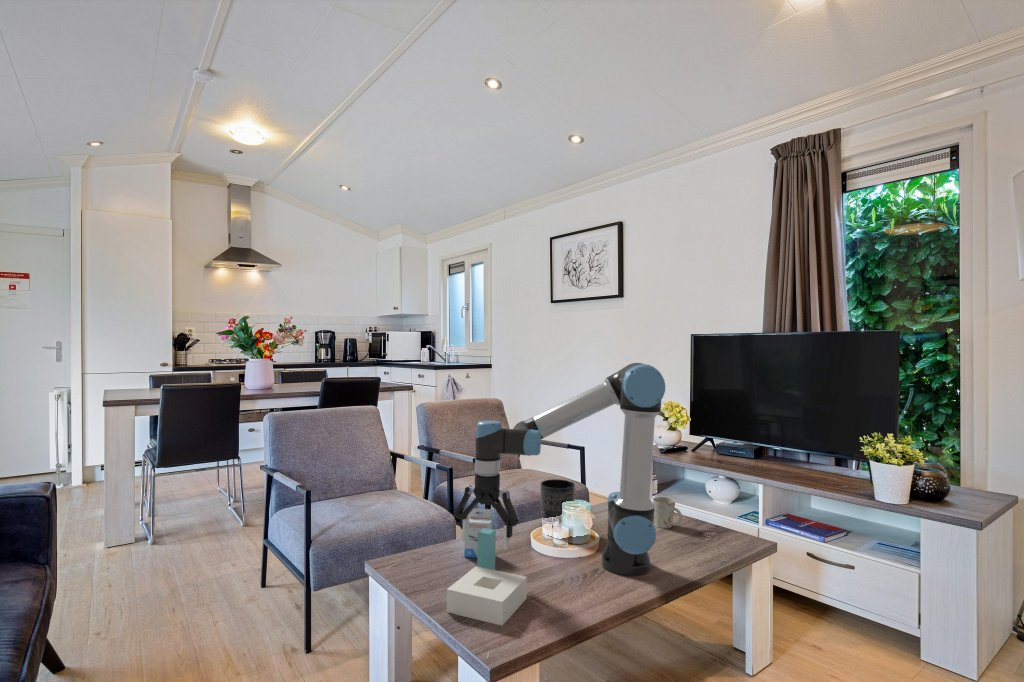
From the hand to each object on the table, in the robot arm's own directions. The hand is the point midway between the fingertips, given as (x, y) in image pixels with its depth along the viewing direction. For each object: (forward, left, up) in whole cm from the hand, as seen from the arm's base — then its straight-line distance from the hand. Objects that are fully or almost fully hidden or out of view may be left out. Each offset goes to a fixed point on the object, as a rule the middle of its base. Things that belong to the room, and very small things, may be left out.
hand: (485, 543), depth 166 cm
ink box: (+10, -14, -10) cm, 20 cm away
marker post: (0, 0, -10) cm, 10 cm away
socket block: (-8, +15, -10) cm, 20 cm away
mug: (-43, -70, -10) cm, 83 cm away
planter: (-6, -47, -10) cm, 49 cm away
